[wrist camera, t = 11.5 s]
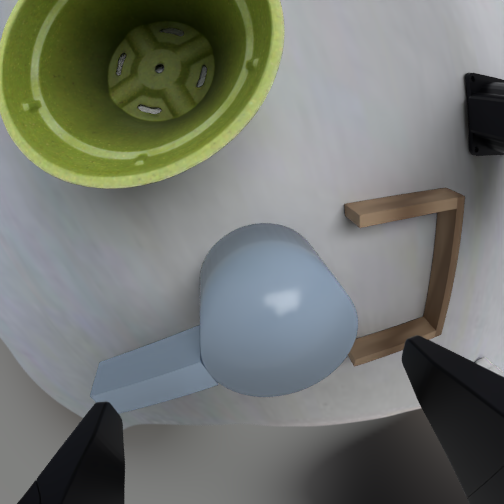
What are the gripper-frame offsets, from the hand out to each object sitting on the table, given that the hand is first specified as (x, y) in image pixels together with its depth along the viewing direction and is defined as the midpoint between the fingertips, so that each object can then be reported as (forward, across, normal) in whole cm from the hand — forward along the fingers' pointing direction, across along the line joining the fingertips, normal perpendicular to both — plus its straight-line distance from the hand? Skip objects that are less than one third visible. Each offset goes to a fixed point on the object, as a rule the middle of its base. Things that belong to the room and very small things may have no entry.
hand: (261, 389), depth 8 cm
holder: (+12, -12, +6) cm, 18 cm away
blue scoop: (+12, +2, +5) cm, 13 cm away
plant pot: (+12, +2, -10) cm, 16 cm away
